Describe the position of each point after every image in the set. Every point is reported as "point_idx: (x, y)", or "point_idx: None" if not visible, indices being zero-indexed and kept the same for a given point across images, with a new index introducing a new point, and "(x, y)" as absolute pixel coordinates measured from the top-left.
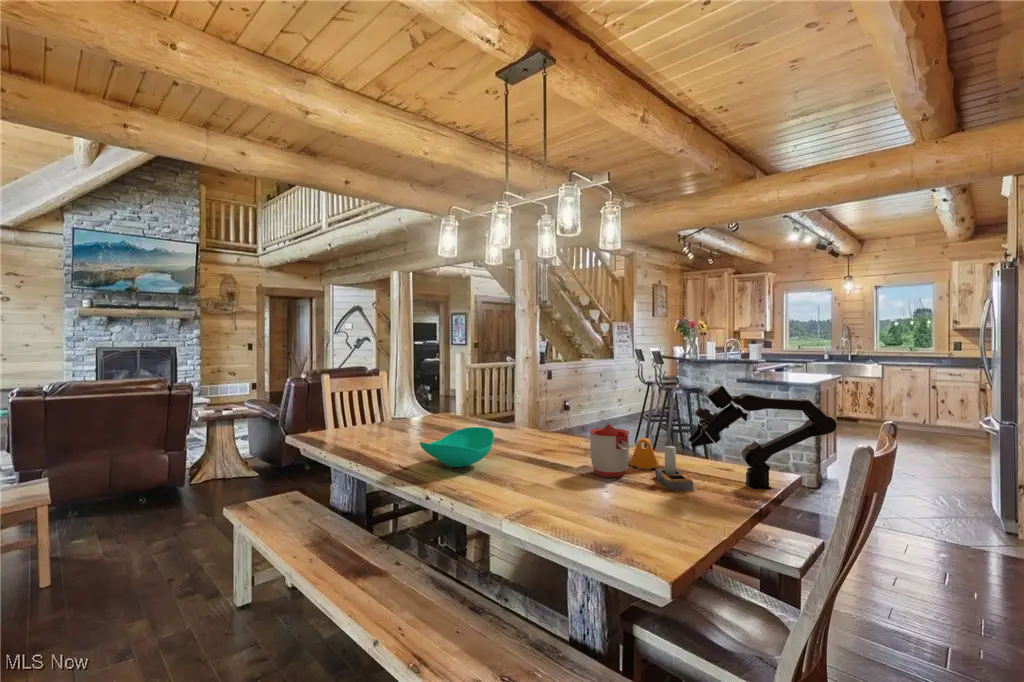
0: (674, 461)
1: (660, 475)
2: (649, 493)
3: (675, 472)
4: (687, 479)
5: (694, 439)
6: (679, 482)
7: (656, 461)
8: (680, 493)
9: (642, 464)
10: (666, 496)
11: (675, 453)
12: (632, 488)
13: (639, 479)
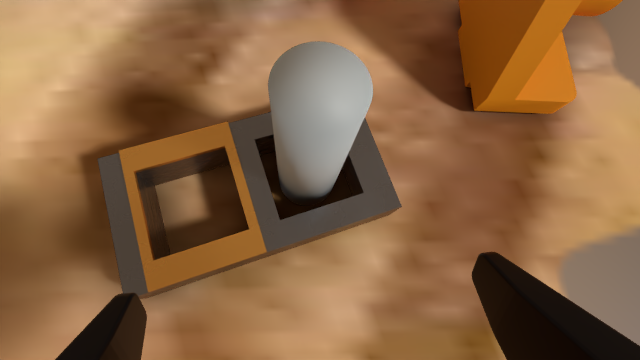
0: (289, 166)
1: (251, 120)
2: (57, 97)
3: (296, 192)
4: (152, 265)
5: (509, 343)
6: (110, 220)
7: (492, 88)
8: (81, 233)
9: (471, 38)
10: (19, 170)
11: (304, 152)
12: (122, 29)
13: (274, 48)
